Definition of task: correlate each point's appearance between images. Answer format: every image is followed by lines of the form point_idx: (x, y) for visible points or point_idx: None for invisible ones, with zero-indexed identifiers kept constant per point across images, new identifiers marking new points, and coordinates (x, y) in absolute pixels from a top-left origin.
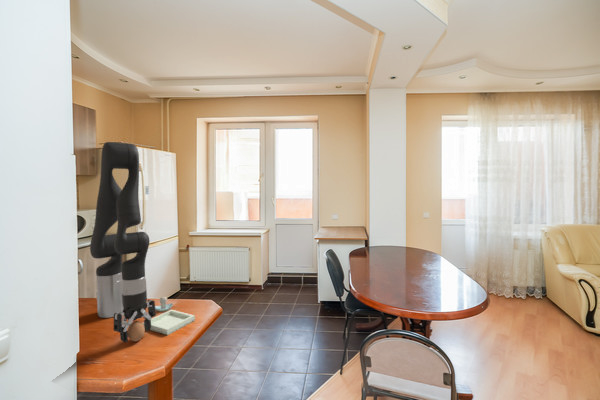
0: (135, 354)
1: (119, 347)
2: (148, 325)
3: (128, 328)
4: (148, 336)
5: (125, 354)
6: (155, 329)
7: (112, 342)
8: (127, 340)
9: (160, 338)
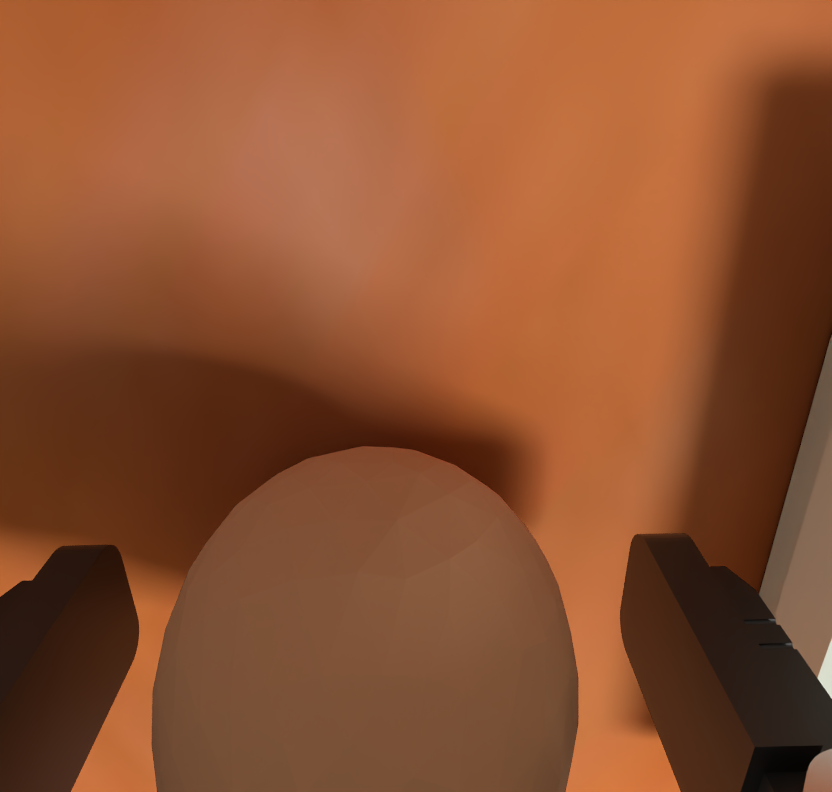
0: (144, 784)
1: (67, 465)
2: (667, 753)
3: (165, 720)
4: (584, 555)
5: None
6: (802, 549)
7: (42, 138)
8: (123, 663)
9: (603, 733)
